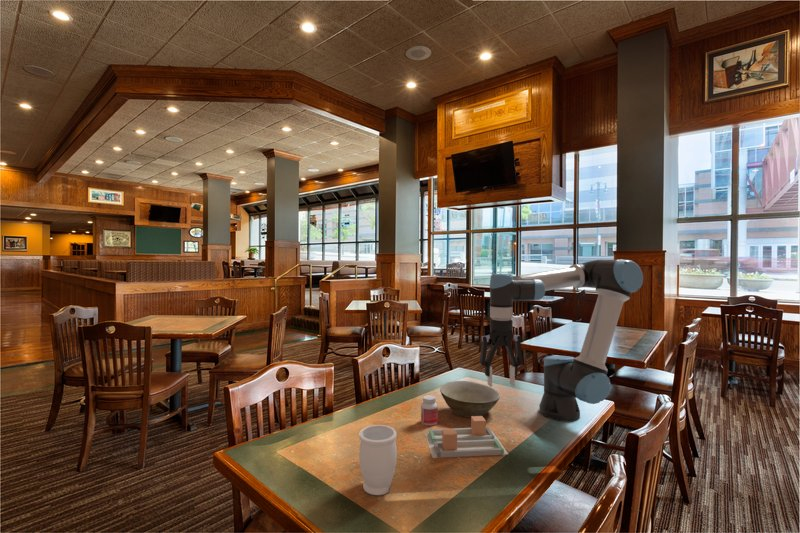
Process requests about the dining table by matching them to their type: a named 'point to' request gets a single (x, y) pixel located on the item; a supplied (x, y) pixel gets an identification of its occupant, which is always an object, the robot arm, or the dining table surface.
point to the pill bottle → (429, 411)
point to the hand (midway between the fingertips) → (501, 384)
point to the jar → (377, 458)
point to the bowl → (469, 398)
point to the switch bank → (465, 444)
